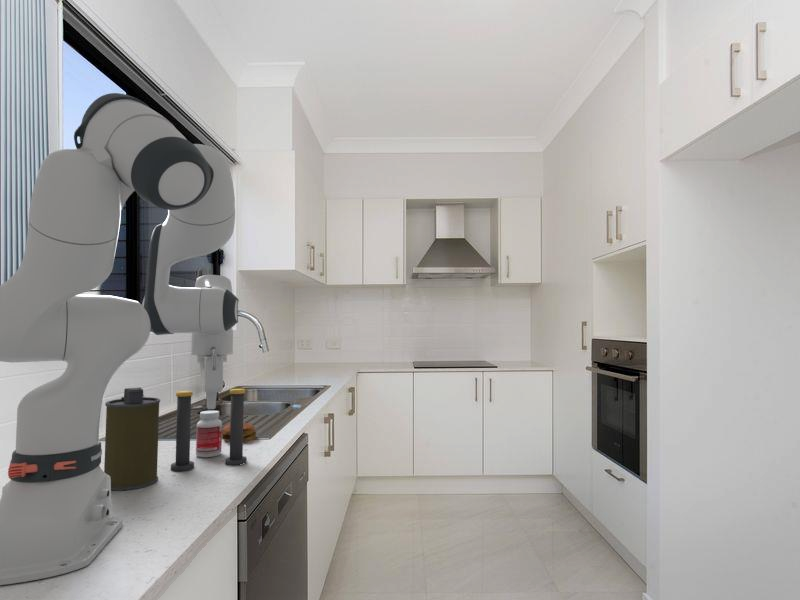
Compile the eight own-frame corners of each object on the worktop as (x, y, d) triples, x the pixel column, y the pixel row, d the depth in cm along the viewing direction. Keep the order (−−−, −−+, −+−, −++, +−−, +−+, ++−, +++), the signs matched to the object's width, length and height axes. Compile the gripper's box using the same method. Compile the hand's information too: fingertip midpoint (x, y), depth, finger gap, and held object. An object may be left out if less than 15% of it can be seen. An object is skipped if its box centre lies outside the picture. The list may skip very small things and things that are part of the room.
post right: (247, 464, 118) (249, 390, 119) (225, 466, 116) (227, 391, 117) (245, 459, 123) (247, 387, 124) (224, 461, 121) (226, 388, 122)
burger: (239, 434, 150) (239, 419, 150) (262, 438, 145) (262, 422, 146) (213, 441, 141) (214, 425, 141) (238, 445, 137) (238, 429, 137)
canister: (164, 483, 104) (167, 389, 105) (109, 494, 97) (112, 393, 98) (149, 471, 112) (151, 384, 113) (96, 481, 105) (100, 387, 106)
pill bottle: (223, 455, 126) (224, 412, 126) (198, 459, 122) (199, 414, 123) (218, 450, 131) (219, 408, 131) (193, 453, 127) (194, 411, 128)
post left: (193, 469, 114) (195, 393, 114) (170, 472, 112) (172, 394, 112) (193, 464, 118) (195, 390, 119) (171, 466, 116) (173, 391, 117)
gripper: (230, 348, 103) (229, 414, 102) (224, 345, 122) (222, 401, 121) (198, 348, 101) (196, 416, 100) (196, 345, 119) (195, 403, 118)
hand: (211, 408), depth 111 cm, fingers closed
